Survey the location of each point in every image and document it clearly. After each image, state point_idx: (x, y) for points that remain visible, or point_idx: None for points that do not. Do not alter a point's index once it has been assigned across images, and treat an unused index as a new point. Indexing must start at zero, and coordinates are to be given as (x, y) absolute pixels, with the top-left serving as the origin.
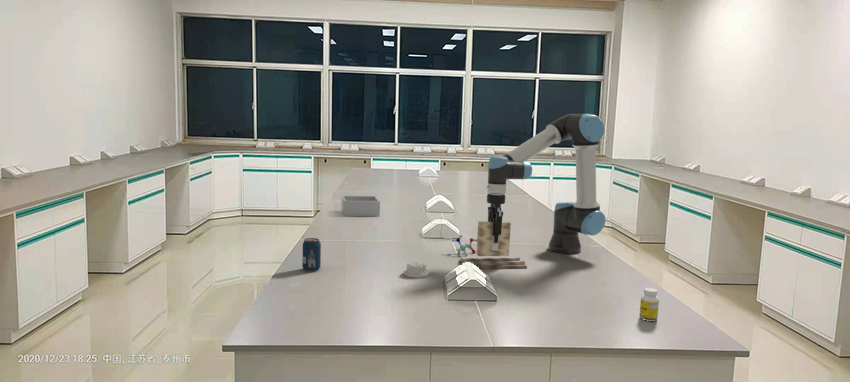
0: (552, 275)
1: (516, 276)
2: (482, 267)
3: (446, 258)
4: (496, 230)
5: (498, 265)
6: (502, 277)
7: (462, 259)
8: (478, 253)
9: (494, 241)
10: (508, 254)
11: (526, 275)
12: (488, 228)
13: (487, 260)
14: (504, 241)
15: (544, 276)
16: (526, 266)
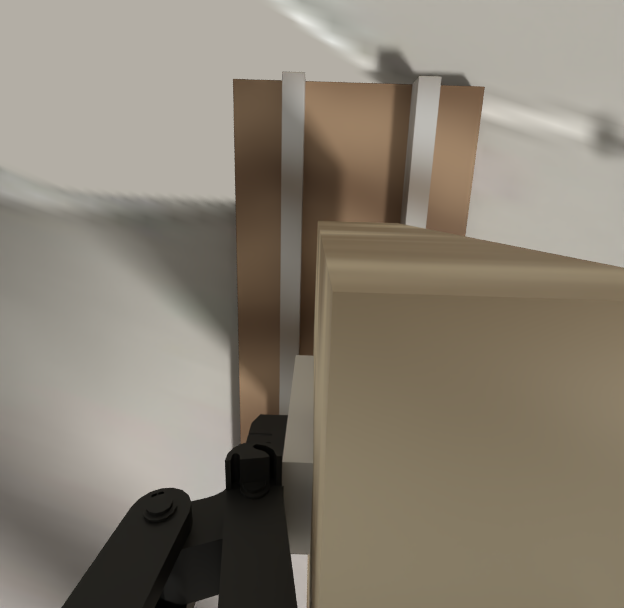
0: None
1: (50, 390)
2: (238, 225)
3: (614, 3)
4: (92, 581)
5: (259, 355)
6: (15, 293)
7: (416, 92)
8: (338, 222)
9: (264, 425)
10: None
11: (79, 455)
12: (316, 479)
13: None
14: None
15: (65, 539)
16: None
